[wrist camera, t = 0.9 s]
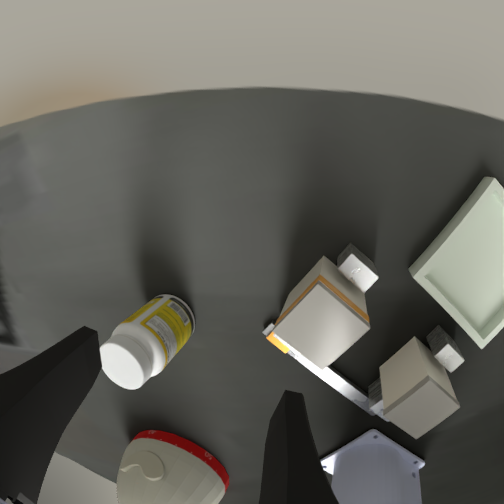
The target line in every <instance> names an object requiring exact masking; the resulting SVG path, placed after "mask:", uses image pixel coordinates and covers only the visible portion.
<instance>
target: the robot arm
mask: <svg viewBox="0 0 504 504" xmlns="http://www.w3.org/2000/svg"><path fill="white" fill-rule="evenodd" d="M101 367H102V361H101V355H100V348H99V341H98V334H97V331H95V330H93V329H90V328H88V327H86V326H83V327H82V328H80V329H78V330H77V331H75V332H74V333H72V334H71V335H69V336H67V337H66V338H64V339H63V340H61V341H60V342H58V343H57V344H55V345H54V346H52V347H50V348H49V349H47V350H45V351H44V352H42V353H41V354H39V355H37V356H36V357H34V358H32V359H30V360H28V361H27V362H25V363H23V364H21V365H19V366H17V367H15V368H13V369H11V370H9V371H7V372H5V373H3V374H0V504H7V503H6V502H5V500H6V499H7V498H9V499H10V500H11V501H13V502H15V500H16V499H18V500H19V501H21V502H22V503H24V504H37V500H38V497H39V493H40V489H41V486H42V483H43V480H44V477H45V474H46V471H47V468H48V465H49V463H50V460H51V458H52V455H53V453H54V451H55V448H56V446H57V444H58V442H59V440H60V438H61V435H62V433H63V432H64V430H65V428H66V426H67V425H68V423H69V422H70V420H71V419H72V417H73V415H74V414H75V412H76V411H77V409H78V408H79V406H80V405H81V403H82V402H83V400H84V399H85V397H86V395H87V394H88V392H89V391H90V389H91V388H92V386H93V384H94V382H95V380H96V378H97V376H98V374H99V372H100V370H101ZM375 435H377V436H375ZM424 465H425V462H424V461H423V460H422V459H420V458H419V457H417V456H415V455H414V454H412V453H411V452H409V451H408V450H406V449H405V448H403V447H402V446H400V445H398V444H397V443H395V442H394V441H392V440H391V439H389V438H388V437H386V436H385V435H383V434H382V433H380V432H379V431H377V430H376V429H371V430H369V431H367V432H366V433H364V434H363V435H361V436H360V437H358V438H356V439H355V440H353V441H352V442H350V443H348V444H347V445H345V446H343V447H342V448H340V449H338V450H337V451H335V452H333V453H331V454H330V455H328V456H326V457H324V458H323V459H321V460H320V459H319V456H318V453H317V450H316V446H315V443H314V440H313V436H312V433H311V429H310V425H309V421H308V417H307V412H306V407H305V402H304V396H303V394H302V393H297V392H292V391H288V390H285V392H284V394H283V396H282V398H281V400H280V402H279V404H278V406H277V408H276V410H275V412H274V414H273V416H272V417H271V419H270V424H269V429H268V433H267V438H266V443H265V453H264V463H263V473H262V483H261V493H260V500H259V504H422V501H421V489H420V479H419V470H418V469H420V468H421V467H423V466H424ZM324 470H325V471H327V472H329V473H330V474H332V475H333V477H332V485H331V486H330V484H329V482H328V479H327V477H326V474H325V472H324Z"/></svg>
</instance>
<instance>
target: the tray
mask: <svg viewBox="0 0 504 504" xmlns="http://www.w3.org/2000/svg"><path fill="white" fill-rule="evenodd" d="M408 270H409V272H410V273H411V275H412V277H413V278H414V279H415V280H416V281H417V282H418V283H419V284H420V285H421V286H422V287H423V288H424V289H425V290H426V291H427V292H428V293H429V294H430V295H431V296H432V297H433V298H434V299H435V300H436V301H437V302H438V303H439V304H440V305H441V306H442V307H443V308H444V309H445V310H446V311H447V312H448V313H449V314H450V315H451V317H452V318H453V319H454V320H455V321H456V322H457V323H458V324H459V325H460V326H461V327H462V328H463V329H464V330H465V331H466V333H467V334H468V335H469V336H470V337H471V338H472V339H473V340H474V341H475V342H476V344H477V345H478V346H479V347H480V348H481V349H482V348H484V347H485V346H486V345H487V344H488V343H489V342H490V341H491V339H492V338H493V337H494V336H495V335H496V334H497V333H498V332H499V331H500V330H501V329H502V328H503V327H504V189H503V187H502V186H501V185H500V184H499V182H498V181H497V180H496V179H495V178H493V177H485V176H484V178H483V179H482V180H481V182H480V183H479V185H478V186H477V187H476V189H475V190H474V191H473V192H472V194H471V195H470V196H469V198H468V199H467V200H466V202H465V203H464V204H463V205H462V207H461V208H460V209H459V210H458V212H457V213H456V214H455V215H454V217H453V218H452V219H451V220H450V221H449V223H448V224H447V225H446V226H445V228H444V229H443V230H442V231H441V232H440V233H439V235H438V236H437V237H436V238H435V239H434V240H433V242H432V243H431V244H430V245H429V246H428V247H427V249H426V250H425V251H424V252H423V253H422V254H421V255H420V256H419V258H418V259H417V260H416V261H415V262H414V263H413V264H412V265H411V266H410V267H409V269H408Z"/></svg>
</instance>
